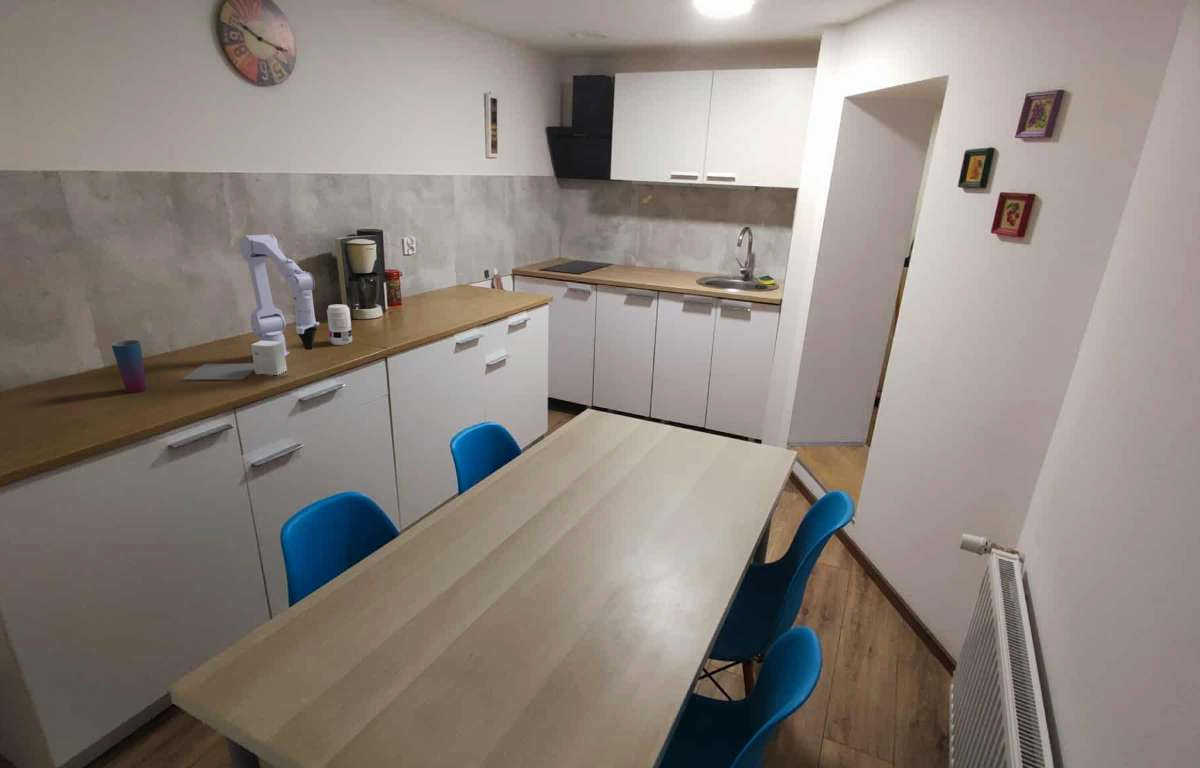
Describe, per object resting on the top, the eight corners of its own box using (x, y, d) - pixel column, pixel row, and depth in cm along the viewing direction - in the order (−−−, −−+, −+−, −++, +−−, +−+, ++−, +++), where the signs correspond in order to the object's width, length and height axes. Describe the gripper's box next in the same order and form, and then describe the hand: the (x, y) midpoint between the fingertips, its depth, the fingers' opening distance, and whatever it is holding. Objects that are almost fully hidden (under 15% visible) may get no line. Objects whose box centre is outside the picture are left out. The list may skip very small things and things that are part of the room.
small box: (287, 371, 203) (283, 341, 199) (277, 376, 198) (273, 346, 194) (265, 369, 204) (261, 339, 200) (255, 374, 198) (250, 344, 195)
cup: (128, 395, 176) (117, 347, 171) (118, 390, 179) (106, 343, 174) (154, 389, 181) (144, 342, 176) (144, 384, 185) (133, 338, 180)
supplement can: (325, 343, 235) (321, 306, 230) (341, 338, 242) (338, 302, 237) (341, 346, 232) (337, 309, 227) (357, 341, 240) (353, 305, 234)
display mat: (204, 365, 204) (204, 363, 204) (261, 365, 207) (260, 363, 207) (181, 380, 189) (181, 379, 189) (242, 380, 192) (242, 378, 192)
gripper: (310, 315, 189) (315, 355, 194) (323, 305, 203) (327, 343, 207) (287, 314, 188) (292, 355, 193) (301, 304, 202) (306, 343, 206)
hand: (309, 349), depth 200 cm, fingers closed
